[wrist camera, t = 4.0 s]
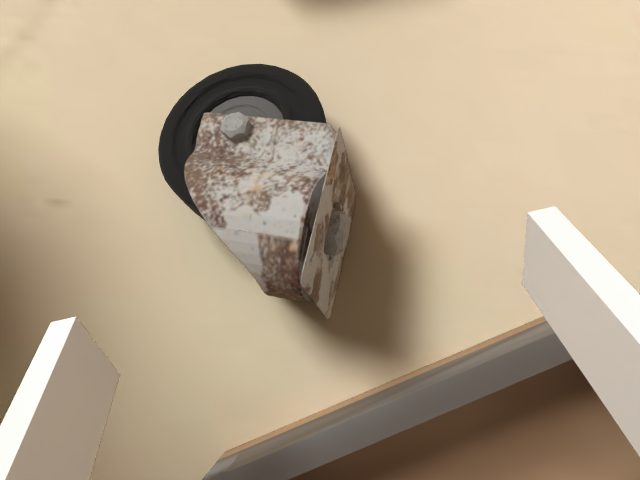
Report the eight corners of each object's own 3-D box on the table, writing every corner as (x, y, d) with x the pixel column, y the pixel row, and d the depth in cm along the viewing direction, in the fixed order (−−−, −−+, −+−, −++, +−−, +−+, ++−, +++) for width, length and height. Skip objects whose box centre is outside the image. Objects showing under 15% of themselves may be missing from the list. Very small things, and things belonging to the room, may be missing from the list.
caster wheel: (220, 111, 29) (382, 126, 26) (159, 287, 25) (340, 323, 23) (169, 26, 22) (374, 35, 20) (77, 243, 19) (315, 286, 16)
